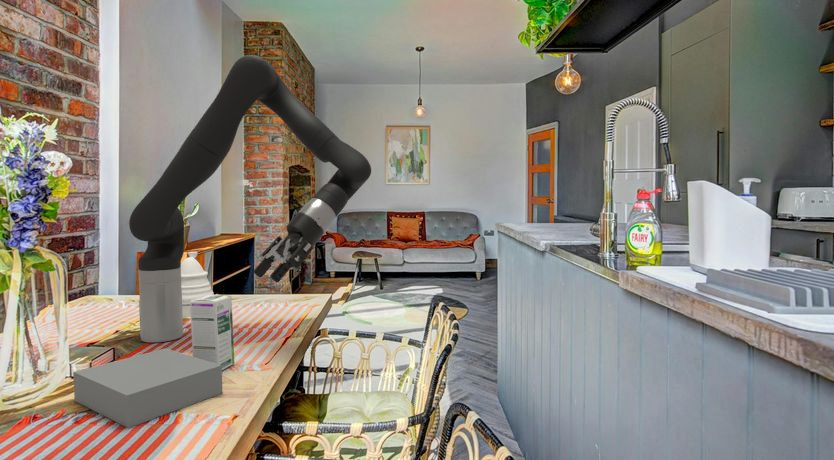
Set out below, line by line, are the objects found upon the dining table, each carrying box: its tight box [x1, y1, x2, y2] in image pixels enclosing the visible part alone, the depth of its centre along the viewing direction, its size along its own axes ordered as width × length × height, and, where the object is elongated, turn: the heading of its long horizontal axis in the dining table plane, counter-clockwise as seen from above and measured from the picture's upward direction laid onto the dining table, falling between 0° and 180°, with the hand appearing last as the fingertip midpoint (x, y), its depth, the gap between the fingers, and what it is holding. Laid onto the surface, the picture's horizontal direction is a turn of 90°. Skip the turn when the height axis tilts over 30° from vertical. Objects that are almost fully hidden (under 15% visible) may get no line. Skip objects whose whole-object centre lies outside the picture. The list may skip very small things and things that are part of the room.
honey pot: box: [181, 251, 215, 318], centre depth 149 cm, size 13×13×18 cm
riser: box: [72, 347, 224, 429], centre depth 86 cm, size 18×16×5 cm
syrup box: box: [190, 294, 235, 371], centre depth 100 cm, size 6×6×14 cm
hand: (264, 277), depth 107 cm, fingers open, 8 cm apart
